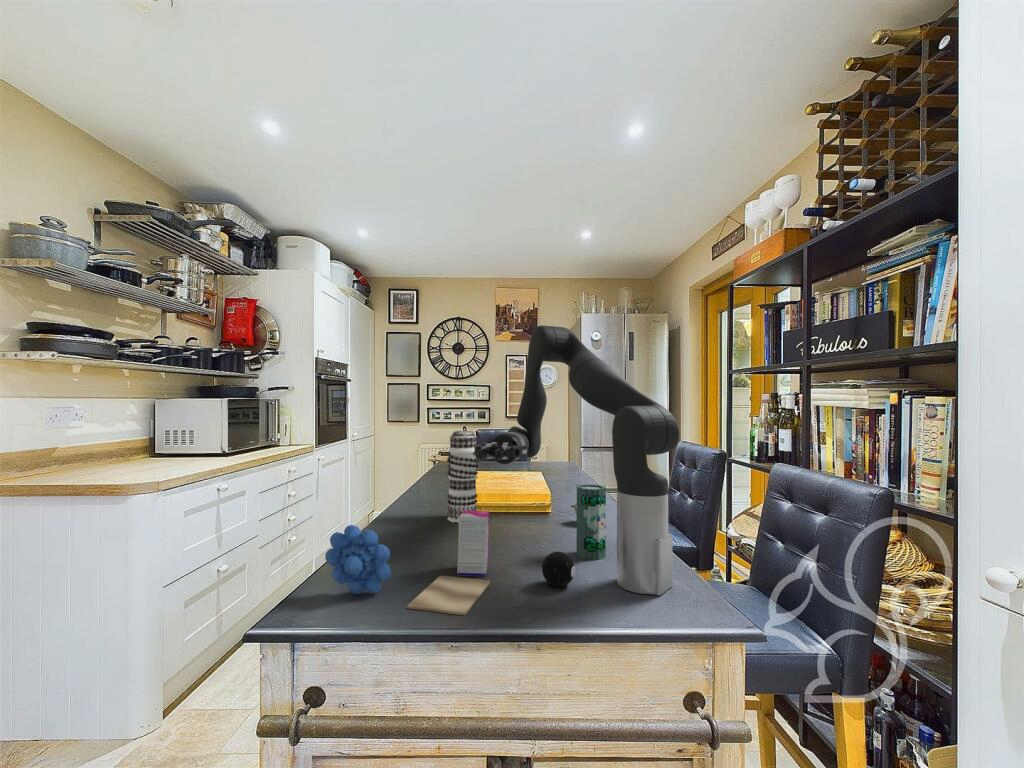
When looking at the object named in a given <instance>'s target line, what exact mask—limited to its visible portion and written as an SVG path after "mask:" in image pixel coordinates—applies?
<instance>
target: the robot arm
mask: <svg viewBox="0 0 1024 768" xmlns="http://www.w3.org/2000/svg"><path fill="white" fill-rule="evenodd" d="M526 359H527V361H526V367H525V376H524V387H523V392H522V397H521V400H520V405H519V409H518V413H517V415H516V421H517V424H518V425H519V426H520V427H519V426H511V427H510V428H509V429H508V430H507V432H503V433H501V434H498V435H496V436H494V437H493V438H492V440H491V442H490V443H486V444H485V446H482V444H478V443H476V444H475V445H474V455H475V457H476V458H477V459H479V460H485V459H489V460H494V461H495V462H496V463H498V464H500V465H501V464H502V465H509V464H511V463H513V462H515V461H517V460H519V459H520V458H530V459H531V458H535V457H536V456H537V454H538V453H539V452H540V450H541V447H542V446H541V444H542V435H541V433H542V432H541V428H542V421H543V417H544V415H545V412H546V407H547V402H548V401H547V400H548V399H547V398H548V397H547V393H546V389H545V387H544V384H543V381H542V377H541V369H542V365H543V362H547V363H550V362H551V363H562V364H565V365H566V366H568V368H569V371H568V380H569V384H570V386H571V388H573V390H574V391H575V392H576V393H577V395H579V396H580V397H581V399H582V400H584V401H585V402H586V403H588V404H589V405H590V406H593V407H595V408H596V409H599V410H601V411H603V412H606V413H608V414H611V415H613V416H614V418H613V421H612V429H611V436H612V456H613V457H612V458H613V459H612V460H613V461H612V462H613V474H614V477H615V480H616V582H617V585H618V586H619V587H620V588H622V589H624V590H626V591H629V592H630V593H631V592H632V593H637V594H643V595H644V594H645V595H655V596H662V595H663V594H664V593H665V592H666V591H668V590H670V588H672V587H673V534H672V533H670V532H669V481H668V478H667V477H665V476H664V475H662V474H659V473H656V472H654V471H652V469H650V468H649V466H648V457H647V456H653V455H655V456H657V455H663V454H667V453H669V452H671V451H672V450H674V448H676V446H677V445H678V443H679V440H680V428H679V424H678V422H677V420H676V417H674V415H673V414H672V413H671V412H670V410H669V409H667V408H666V407H664V405H661V404H660V403H658V402H657V401H655V400H653V399H652V398H650V397H649V396H647V395H645V394H644V393H642V392H641V391H639V390H638V389H637V388H636V387H634V386H633V385H632V384H631V383H630V382H628V381H627V380H626V379H624V377H622V376H620V374H618V372H617V371H615V370H614V369H613V368H612V367H611V366H609V365H608V364H607V362H605V361H603V360H602V359H601V358H600V357H598V356H597V355H595V354H594V353H593V352H592V351H591V350H590V349H588V347H586V345H585V344H584V343H583V342H582V341H581V340H580V339H579V337H578V336H577V335H576V334H575V333H574V332H573V331H572V330H571V329H570V328H567V327H562V326H554V325H538V326H537V325H536V327H535V328H534V329H533V331H532V333H531V335H530V339H529V343H528V350H527V358H526Z"/></svg>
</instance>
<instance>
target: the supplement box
mask: <svg viewBox="0 0 1024 768" xmlns="http://www.w3.org/2000/svg"><path fill="white" fill-rule="evenodd" d="M489 527H490V511H487V510H486V511H485V510H476V511H465V510H463V511H462V513H461V515H460V517H459V523H458V542H457V547H458V548H457V567H456V568H457V569H456V577H486V575H487V570H488V566H489V565H488V562H489V538H490V537H489V536H490V535H489V534H490V532H489V531H490V530H489V529H490V528H489Z"/></svg>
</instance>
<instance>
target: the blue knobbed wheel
mask: <svg viewBox="0 0 1024 768" xmlns="http://www.w3.org/2000/svg"><path fill="white" fill-rule="evenodd" d="M329 542H330V546H331V548H329V549H327V551H326V552H325V555H324V556H325V558H324V559H325V562H326V563H327V564H328V565H329V566H331V567H334V568H333V569H332V572H331V573H332V574H331V576H332V579H333V582H336V583H337V584H341V585H344V584H346V583H347V585H346V586H347V588H348V591H349V592H350V593H352V594H353V595H360V594H362V593H364V591H365V590H366V591H367V592H368V593H370V594H375V593H377V592H380V590H381V588H382V581H386V580H388V579H390V578H391V576H392V568H391V567H390V565H389V564H388V563H386V562H388V561H389V559H390V558H391V550H390V549H389V548H388V547H387V545H384V544H383V543H382V544H380V543H379V537H378V534H377V532H375V531H374V530H372V529H365V530H363V531H361V529H360V528H359V527H358V526H357V525H354V524H350V525H347V526H346V527H345V529H344V530H343V533H342V532H339V531H336V532H334V533H332V535H331V536H330V538H329Z"/></svg>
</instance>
